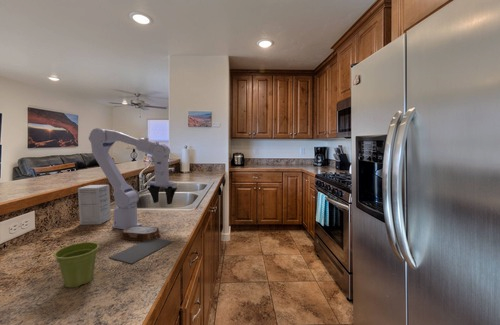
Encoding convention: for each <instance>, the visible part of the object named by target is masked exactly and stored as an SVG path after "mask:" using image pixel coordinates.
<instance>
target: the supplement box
mask: <svg viewBox="0 0 500 325" xmlns="http://www.w3.org/2000/svg"><path fill="white" fill-rule="evenodd" d="M110 192H111V190H110V185H109V184H89V185H85V186H82V187H78V188H77V197H78V198H77V199H78V212H79V213H78V216H79V226H80V225H81V226H83V225H86V226H87V225H88V226H89V225H101V224H103V223H105V222H107V221H109V220H111V219H112V212H111V197H110V196H111V195H110Z"/></svg>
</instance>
